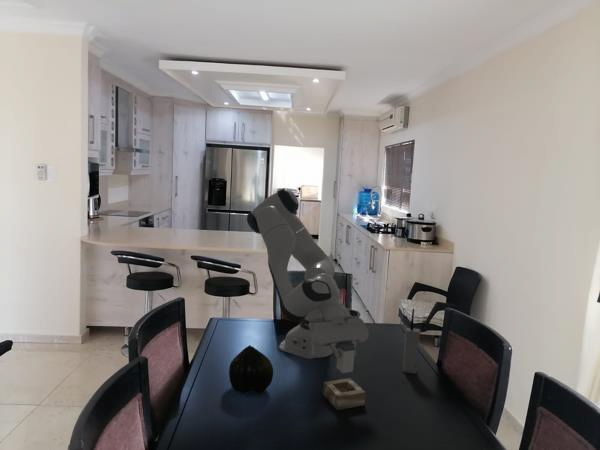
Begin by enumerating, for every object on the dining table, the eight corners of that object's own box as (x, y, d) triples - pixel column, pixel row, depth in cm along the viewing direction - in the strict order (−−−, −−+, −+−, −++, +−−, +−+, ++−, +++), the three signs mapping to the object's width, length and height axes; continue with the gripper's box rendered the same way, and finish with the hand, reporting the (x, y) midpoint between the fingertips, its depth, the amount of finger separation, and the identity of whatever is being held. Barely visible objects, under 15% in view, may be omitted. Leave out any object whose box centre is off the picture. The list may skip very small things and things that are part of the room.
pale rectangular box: (336, 367, 142) (338, 343, 141) (346, 366, 143) (348, 342, 142) (342, 373, 138) (344, 347, 137) (352, 371, 140) (354, 346, 139)
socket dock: (323, 394, 144) (324, 382, 144) (348, 390, 148) (349, 378, 148) (337, 410, 135) (338, 396, 135) (364, 405, 139) (365, 391, 139)
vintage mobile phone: (416, 374, 164) (422, 311, 161) (403, 372, 165) (408, 309, 162) (415, 370, 167) (421, 308, 165) (402, 368, 168) (408, 306, 166)
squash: (259, 391, 134) (271, 345, 142) (216, 383, 138) (230, 339, 146) (271, 403, 145) (281, 359, 153) (231, 396, 149) (243, 354, 158)
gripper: (310, 315, 141) (321, 356, 133) (363, 311, 149) (376, 349, 141) (304, 324, 145) (314, 363, 138) (355, 319, 154) (368, 356, 146)
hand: (346, 356), depth 140 cm, fingers closed on pale rectangular box, 4 cm apart
